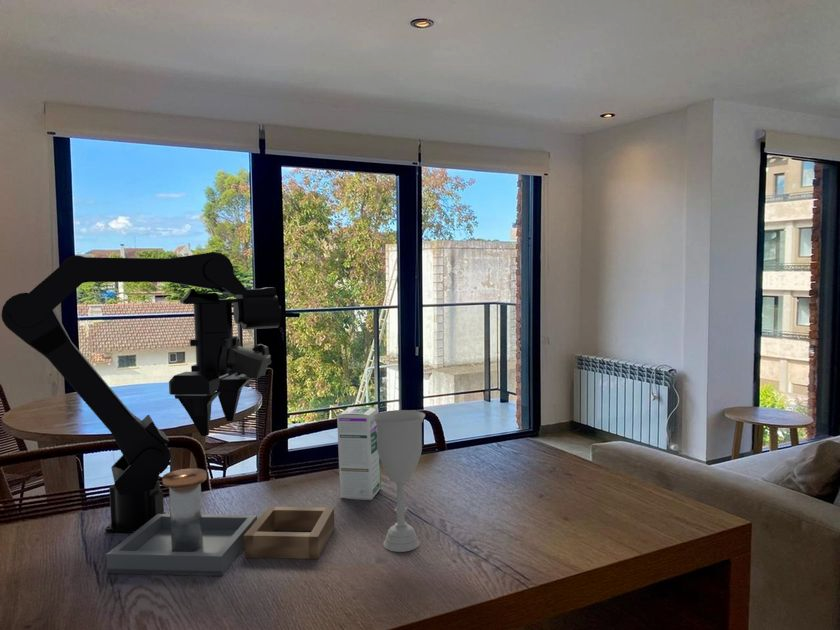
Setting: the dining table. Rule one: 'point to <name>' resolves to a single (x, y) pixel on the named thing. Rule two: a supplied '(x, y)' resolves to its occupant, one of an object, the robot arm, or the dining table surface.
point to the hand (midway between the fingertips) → (218, 428)
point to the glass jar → (185, 508)
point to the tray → (155, 555)
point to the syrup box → (358, 453)
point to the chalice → (400, 466)
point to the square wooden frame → (289, 533)
